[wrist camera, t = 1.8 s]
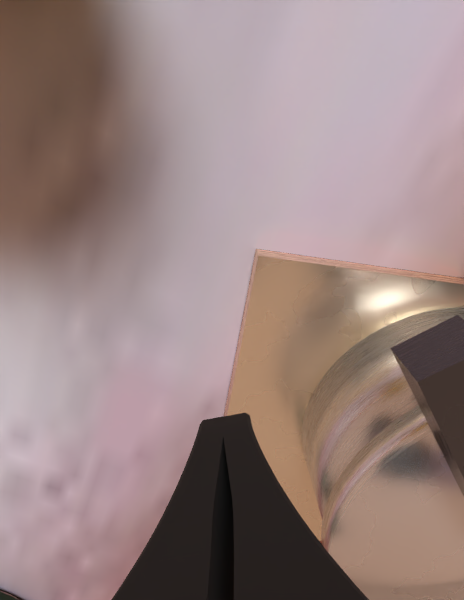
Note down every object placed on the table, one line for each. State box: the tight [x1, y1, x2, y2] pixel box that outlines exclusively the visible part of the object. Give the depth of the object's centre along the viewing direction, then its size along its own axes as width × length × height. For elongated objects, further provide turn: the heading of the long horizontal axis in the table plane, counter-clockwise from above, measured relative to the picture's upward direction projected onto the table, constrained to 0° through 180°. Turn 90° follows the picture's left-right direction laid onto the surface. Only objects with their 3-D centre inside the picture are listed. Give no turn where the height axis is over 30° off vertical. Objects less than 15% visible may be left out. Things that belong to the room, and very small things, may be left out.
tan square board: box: [224, 249, 464, 541], centre depth 19 cm, size 19×22×6 cm
